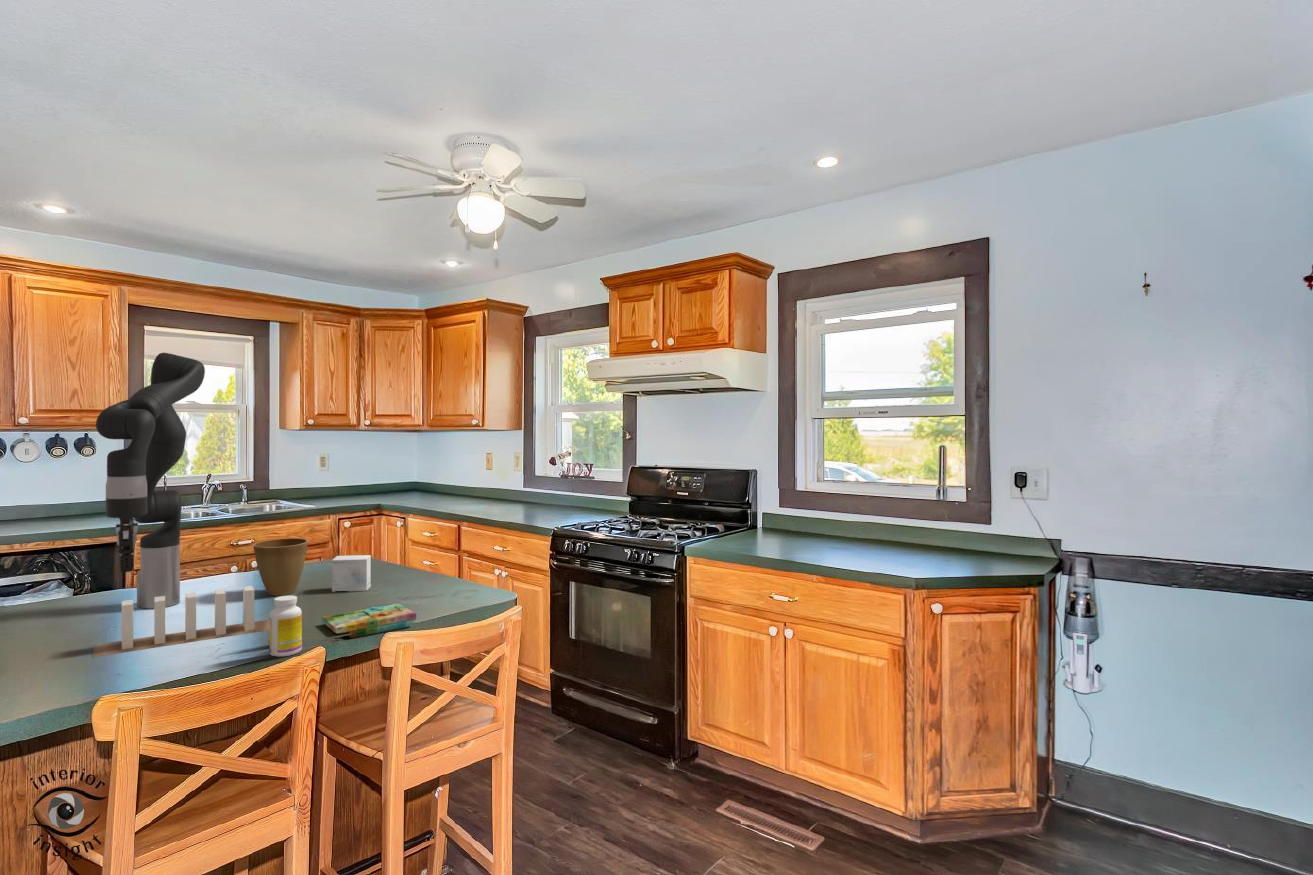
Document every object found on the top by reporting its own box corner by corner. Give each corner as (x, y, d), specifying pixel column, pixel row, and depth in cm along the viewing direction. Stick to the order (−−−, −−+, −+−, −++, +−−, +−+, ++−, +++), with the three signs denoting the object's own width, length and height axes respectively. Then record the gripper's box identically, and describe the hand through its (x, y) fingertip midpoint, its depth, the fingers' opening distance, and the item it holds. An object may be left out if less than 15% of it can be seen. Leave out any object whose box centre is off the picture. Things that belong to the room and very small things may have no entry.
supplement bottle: (308, 650, 157) (308, 595, 157) (284, 659, 151) (284, 602, 151) (286, 646, 159) (286, 593, 159) (262, 655, 153) (262, 600, 153)
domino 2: (154, 644, 155) (154, 601, 155) (154, 638, 159) (154, 597, 159) (165, 642, 156) (165, 600, 156) (165, 637, 160) (165, 595, 160)
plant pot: (267, 587, 214) (267, 538, 214) (315, 587, 216) (315, 537, 216) (243, 599, 200) (243, 546, 199) (295, 599, 201) (295, 546, 201)
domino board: (91, 663, 147) (91, 657, 146) (95, 651, 155) (95, 644, 155) (278, 634, 168) (278, 628, 168) (273, 624, 176) (273, 619, 176)
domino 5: (245, 630, 166) (245, 590, 166) (243, 625, 170) (243, 586, 170) (254, 629, 167) (254, 589, 167) (252, 624, 171) (252, 585, 171)
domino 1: (121, 649, 152) (121, 605, 151) (122, 643, 155) (122, 600, 155) (133, 647, 153) (132, 604, 153) (133, 641, 157) (133, 599, 156)
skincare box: (331, 592, 210) (331, 559, 209) (336, 587, 216) (336, 555, 216) (366, 591, 212) (366, 558, 211) (371, 586, 218) (371, 554, 218)
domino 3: (186, 639, 159) (185, 598, 158) (185, 634, 163) (185, 593, 162) (196, 638, 160) (196, 596, 160) (195, 632, 164) (195, 592, 164)
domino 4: (216, 635, 162) (216, 594, 162) (214, 630, 166) (214, 590, 166) (225, 633, 163) (225, 593, 163) (224, 628, 167) (224, 589, 167)
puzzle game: (416, 610, 176) (335, 624, 163) (416, 627, 176) (335, 643, 163) (400, 600, 185) (321, 613, 171) (400, 617, 185) (321, 632, 172)
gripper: (146, 497, 150) (147, 573, 150) (147, 491, 161) (148, 562, 162) (103, 499, 145) (103, 578, 146) (107, 493, 157) (108, 566, 157)
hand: (127, 569), depth 154 cm, fingers open, 3 cm apart
